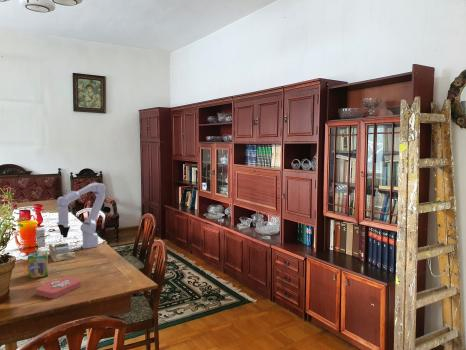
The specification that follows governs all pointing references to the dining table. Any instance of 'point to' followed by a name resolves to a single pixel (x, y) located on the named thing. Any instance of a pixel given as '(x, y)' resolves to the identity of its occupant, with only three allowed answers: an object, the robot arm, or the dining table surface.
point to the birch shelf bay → (60, 256)
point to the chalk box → (37, 264)
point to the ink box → (40, 237)
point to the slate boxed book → (62, 250)
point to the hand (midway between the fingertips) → (63, 236)
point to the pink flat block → (58, 287)
